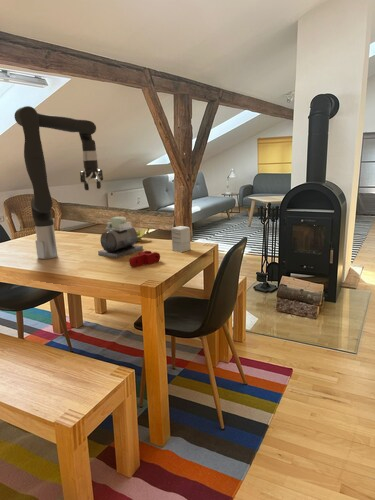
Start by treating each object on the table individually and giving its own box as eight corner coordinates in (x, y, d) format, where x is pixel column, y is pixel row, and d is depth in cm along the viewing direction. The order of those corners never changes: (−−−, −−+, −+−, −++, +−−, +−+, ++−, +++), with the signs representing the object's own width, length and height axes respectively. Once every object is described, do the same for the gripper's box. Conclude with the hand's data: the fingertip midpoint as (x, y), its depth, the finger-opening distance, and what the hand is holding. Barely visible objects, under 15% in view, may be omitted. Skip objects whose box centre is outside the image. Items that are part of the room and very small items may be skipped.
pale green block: (121, 228, 203) (120, 218, 202) (110, 227, 207) (109, 217, 206) (127, 226, 207) (126, 217, 206) (117, 225, 211) (116, 216, 210)
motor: (117, 258, 199) (114, 226, 195) (98, 254, 207) (95, 224, 203) (142, 249, 215) (141, 220, 211) (124, 246, 223) (122, 218, 219)
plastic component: (111, 240, 229) (112, 230, 236) (114, 249, 234) (114, 239, 241) (145, 236, 230) (144, 226, 237) (146, 245, 235) (146, 235, 242)
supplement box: (181, 247, 216) (180, 225, 213) (191, 249, 211) (190, 227, 208) (171, 250, 211) (170, 227, 208) (181, 252, 206) (180, 229, 203)
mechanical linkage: (150, 259, 196) (149, 249, 195) (160, 261, 192) (159, 251, 190) (126, 266, 185) (125, 256, 183) (136, 269, 180) (135, 259, 179)
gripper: (95, 159, 219) (97, 188, 223) (75, 160, 208) (78, 190, 212) (104, 159, 215) (107, 188, 219) (84, 160, 203) (87, 191, 207)
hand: (93, 189), depth 215 cm, fingers open, 8 cm apart
